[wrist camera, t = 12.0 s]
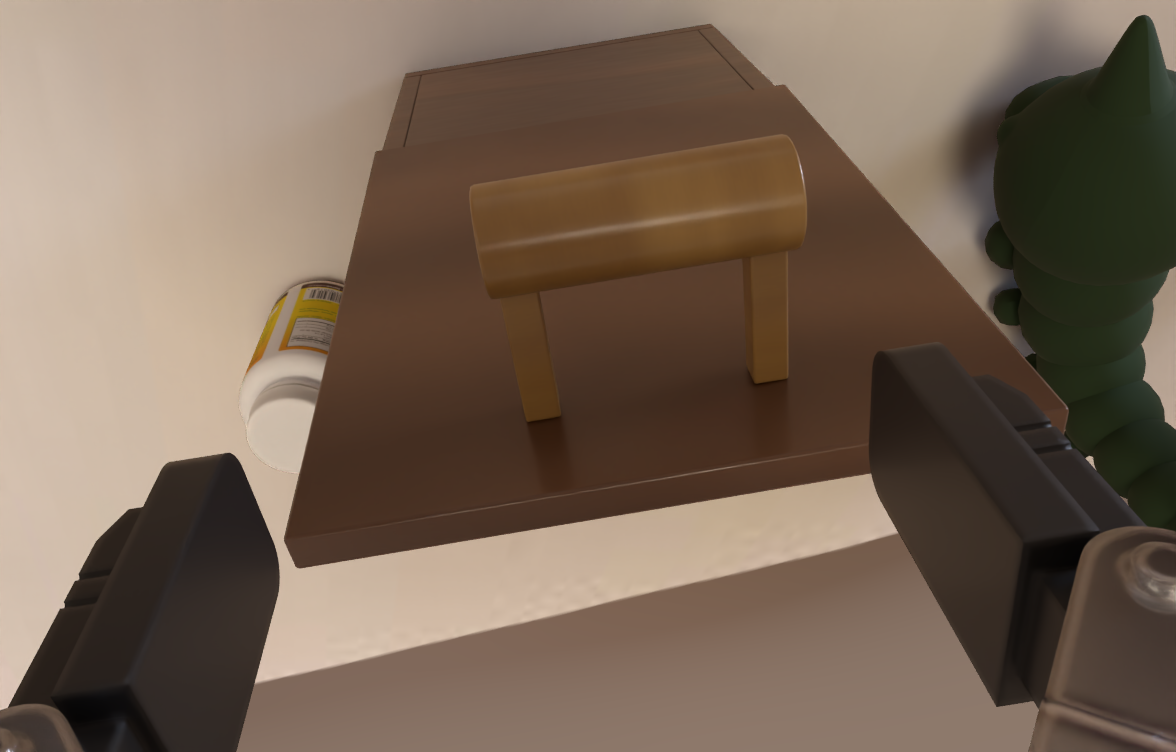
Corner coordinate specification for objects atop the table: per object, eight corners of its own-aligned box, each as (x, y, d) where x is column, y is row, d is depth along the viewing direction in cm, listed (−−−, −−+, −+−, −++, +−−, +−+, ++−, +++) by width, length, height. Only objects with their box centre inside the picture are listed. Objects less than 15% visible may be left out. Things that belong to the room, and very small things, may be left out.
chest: (731, 352, 51) (791, 485, 41) (481, 394, 51) (479, 537, 41) (711, 23, 42) (781, 91, 32) (405, 73, 42) (379, 157, 32)
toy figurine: (1118, 352, 56) (1137, -76, 41) (1366, 598, 41) (1540, 65, 26) (964, 401, 57) (928, 0, 42) (1152, 660, 42) (1200, 179, 27)
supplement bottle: (301, 382, 50) (262, 504, 41) (252, 294, 47) (199, 405, 38) (398, 352, 49) (380, 468, 41) (355, 261, 47) (325, 366, 38)
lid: (1064, 443, 17) (1127, 150, 14) (295, 571, 17) (176, 307, 13) (785, 106, 32) (784, -70, 29) (381, 172, 32) (333, 3, 29)
